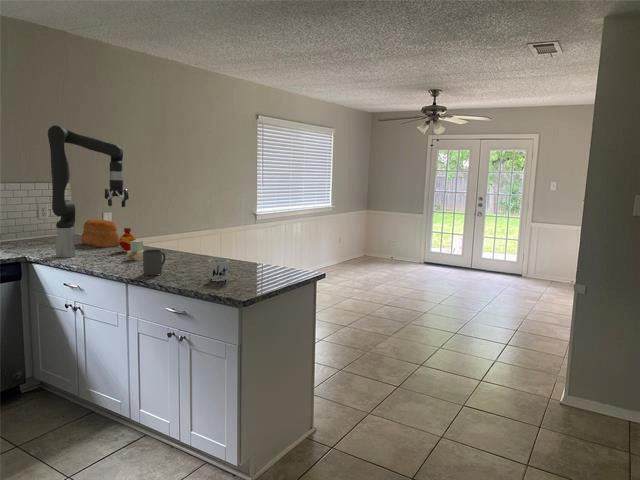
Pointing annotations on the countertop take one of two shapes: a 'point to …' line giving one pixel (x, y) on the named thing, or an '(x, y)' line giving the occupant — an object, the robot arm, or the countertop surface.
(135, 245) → the sage block
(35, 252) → the countertop surface
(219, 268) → the mug
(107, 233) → the bread
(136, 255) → the oak block
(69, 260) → the countertop surface
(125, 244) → the potion bottle
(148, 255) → the mug
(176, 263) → the countertop surface
